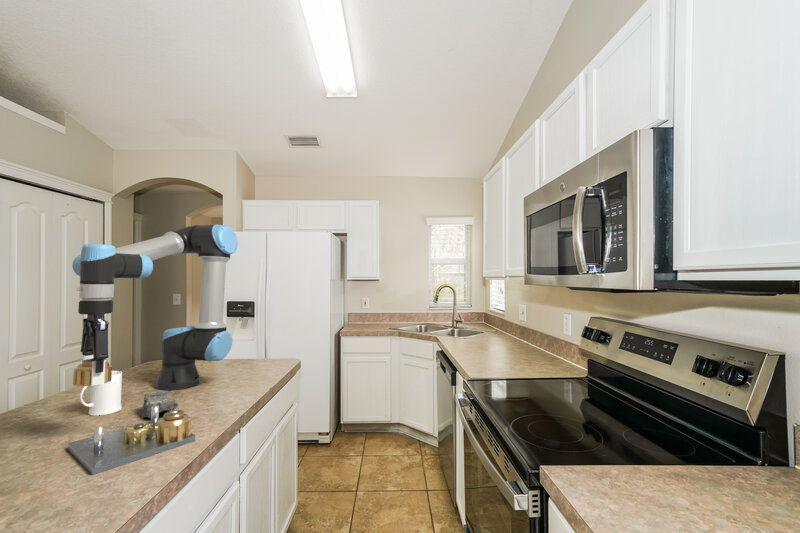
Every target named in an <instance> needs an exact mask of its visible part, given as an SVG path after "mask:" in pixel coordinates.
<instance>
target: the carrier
mask: <svg viewBox="0 0 800 533" xmlns="http://www.w3.org/2000/svg"><path fill="white" fill-rule="evenodd" d="M159 415H160V414H159V405H154V406H152V407H151V418H150V420H149V421H146V422H142V423H135V424H132V425H131V426H127V427H125V428H120V429H119V428H118V429H116V430H112V431H109V432H108V431H107V432H105V433H104V429H105V426H104V425H99V426H95V427H94V428H93V434H94V435H93V436H89V437H87V438H82V439H78V440H75V441H72V442H71V441H70V442H68V443H67V450H68V451H69V452H70V453H71V454H72V455H73V456H74V457H75V458H76V459H77V461H78V462H79V463H80V464H81V465H82V466H83V467H84V468H85V469H86V470H87V471H88V472H89V473H90V474H91V475H92V476H93V475H97V474H100V473H103V472H105V471H109V470H111V469H115V468H117V467H121V466H123V465H126V464H130V463H133V462H135V461H139V460H142V459H145V458H148V457H151V456H153V455H156V454H160V453H162V452H167V451H170V450H172V449H174V448H178V447H181V446H184V445H187V444H190V443H193V442H195V441H196V434H193V433H192V430H191V429H192V418H191V417H190V416H189V414H187V413H185V411H184V410H181V409H174V410H171V411H166V412H165V413H164V414H163V416H162V417H160V418H159Z"/></svg>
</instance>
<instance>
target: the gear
mask: <svg viewBox="0 0 800 533" xmlns="http://www.w3.org/2000/svg"><path fill="white" fill-rule="evenodd" d="M90 360H91V359H86V360H83V359H82V362H81V363H80V364H78V365H77V368H74V369H73V375H72V376H73V379H72V386H74V387H85V386H88V387H90V385H91V374H92V361H90ZM112 371H113V365H111V364H110V362H109V361H105V379H104V384H105V383H108V382H110V381H111V377H112ZM99 385H100V384H99Z"/></svg>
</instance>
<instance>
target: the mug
mask: <svg viewBox="0 0 800 533" xmlns="http://www.w3.org/2000/svg"><path fill="white" fill-rule="evenodd" d="M122 383H123V372H122V371H119V370H112V377H111V381H110V382H108V383H105V384H100V385H93V386H91V385H90V386H85V387H84V386H82V388H81V391H80V393H79V402H80V403H81V404H82V405H83V406H84V407H88V408H89V409H88V411H87V412H88V413H87V414H88V415H89V416H95V417H96V416H97V417H98V416H99V415H100V416H107V415H111V414H115V413H117V412H119V411H121V410H122V409H123V408H122V407H123V406H122V385H123V384H122ZM88 387H89V403H87V402H85V401H84V399H83V396H84V392H85V390H86V389H87V388H88Z"/></svg>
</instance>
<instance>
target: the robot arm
mask: <svg viewBox="0 0 800 533" xmlns="http://www.w3.org/2000/svg"><path fill="white" fill-rule="evenodd" d="M238 245H239V244H238V237H237V235H236V233H235V231H234V230H233V229H232V228H231V226H228V225H224V224H223V225H222V224H202V225H201V224H195V225H189V226H185V227H182V228H181V227H180V228H178V229H175V230H171V231H168V232H165V233H164V234H163V235H162V236H158V237H153V238H150V239H146V240H141V241H139V242H135V243H131V244H127V245H123V246H120V247H116V246H114V245H112V244H111V245H110V244H103V243H102V244H100V243H99V244H98V243H86V244H83V245H82V247H81V253H80V254H79V255H77V256H76V257H74V259H73V261H72V265H71V266H72V270H73V272H74V273H75V274H76V275H77V276H79V287H77V288H76V291H77V292H79V294H78V295H79V296H78V298H79V299H81V300H79V301H78V309H77V310H78V312H77V313H78V314H79V315H87V316H86V317H85V318H83V319H82V333H81V334H82V335H81V344H80V345H81V346H80V353H81V354H82V361H83V360H86V359H91V360H90V361H92V374H91V386H93V385H99V384H104V379H105V362H106V359H108V358H109V357H110V356H109V325H110V323H109V321H108V320H106V319H105V314H108V315H109V314H112V313H114V312H113V311H114V300H112V299H113V298H114V297H115V279H134V280H136V279H137V280H140V279H145V278H148V277H149V276H151V274H152V273H153V271H154V264H153V261H155V260H159V259H161V258H165V257H168V256H179V255H184V254H185V255H186V254H187V255H188V254H197V258H198V259H199V260H200V261H201V263H202V264H201V275H200V277H201V278H200V296H199V309H198V310H199V311H198V322H197V323H196V324H195V325H188V326H182V327H174V328H169V329H166V330H164V332H163V333H162V340H161V342H162V344H161V368H160V370H159V374H158V376H157V379H156V381H155V388H156V389H157V390H163V391H174V390H177V391H178V390H183V389H187V388H192V387H195V386H197V385H199V384H200V383H201V382H200V380H201V378H200V374H199V371H198V369H197V365H196V361H203V362H220V361H222V360H224V359H225V358H226V357H227V355H228V354H229V353H230V351H231V350H232V346H233V337H232V334H231V333H230V332H229V331H227V325H226V324H225V323H224V322H223V320H224V307H225V305H224V304H225V302H224V301H225V288H226V287H225V285H226V284H225V283H226V271H227V270H226V267H227V265H226V264H227V263H228V262H229V261H230V260H231V255H232V254H234V253H235V252H236V250H237V248H238Z"/></svg>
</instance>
